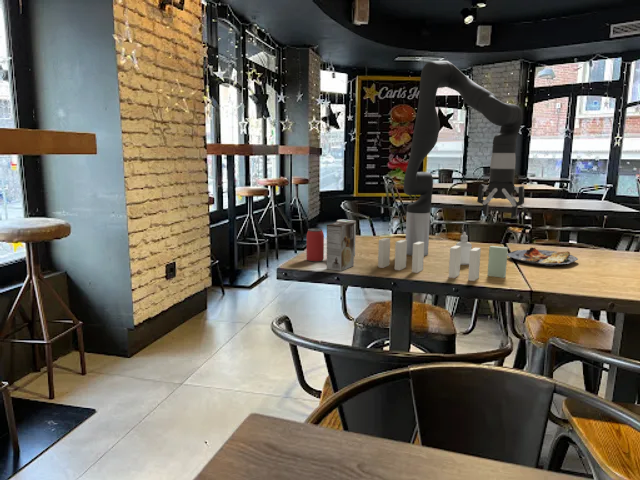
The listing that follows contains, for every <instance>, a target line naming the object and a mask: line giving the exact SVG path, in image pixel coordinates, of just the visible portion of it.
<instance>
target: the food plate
mask: <svg viewBox="0 0 640 480" xmlns="http://www.w3.org/2000/svg"><path fill="white" fill-rule="evenodd" d="M507 258H513V259H514V260H517V261H520V262H522V263H526V264H532V265H540V266H541V265H542V266H548V267H553V266H556V265H558V266H559V265H561V266H562V265H566V264H567V265H569V264H571V263H574V262H575V261H578V260H579V258H578V257H576V256H574V255H572V254H571V252H570V251H555V250H548V249H537V248H536V247H530V248H529V249H517V250H514V251H513V250H512V251H511V252H507Z"/></svg>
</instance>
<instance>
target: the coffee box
mask: <svg viewBox="0 0 640 480" xmlns="http://www.w3.org/2000/svg"><path fill="white" fill-rule="evenodd" d="M354 257H355V256H354V223H349V222H337V221H336V222H333V223H329V224H326V269H327V270H332V271H339V272H342V271H344V270H347V269H350V268H352V267H354V266H355V265H354V263H355V262H354V260H355V258H354Z"/></svg>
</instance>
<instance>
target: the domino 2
mask: <svg viewBox="0 0 640 480" xmlns="http://www.w3.org/2000/svg"><path fill="white" fill-rule="evenodd" d="M394 244H395V249H394V252H395V253H394V270H395V271H402V270H404V269H405V268H407V254H406V253H407V240H406V239H400V240H398V241H395V243H394Z"/></svg>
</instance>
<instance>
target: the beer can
mask: <svg viewBox="0 0 640 480" xmlns="http://www.w3.org/2000/svg"><path fill="white" fill-rule="evenodd" d="M324 235H325V234H324V231H323V228H319V227H318V228H316V227H315V228H308V229H307V233H306V260H307V261H308V262H311V263H318V262H322V261H324V257H325V255H324V254H325V247H324V245H325V236H324Z"/></svg>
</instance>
